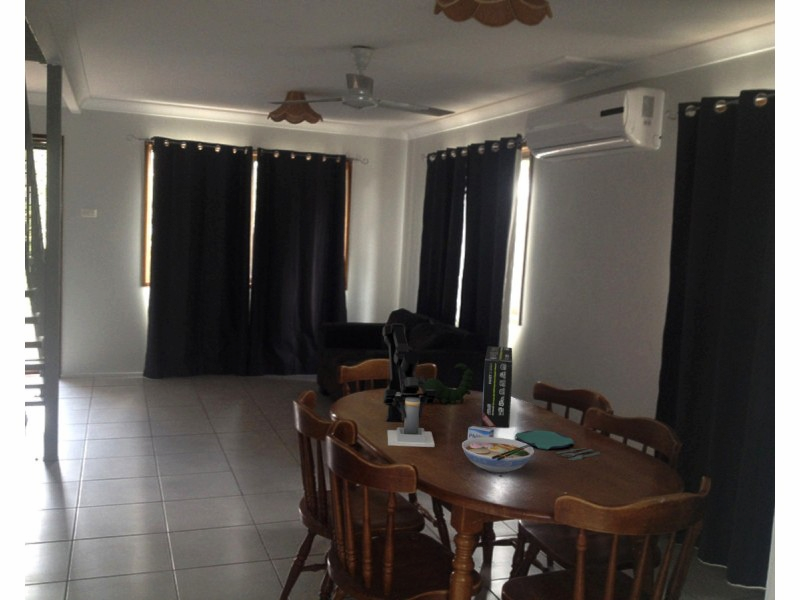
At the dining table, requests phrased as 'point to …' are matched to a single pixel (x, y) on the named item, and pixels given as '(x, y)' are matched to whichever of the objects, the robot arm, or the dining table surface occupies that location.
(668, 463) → the dining table surface
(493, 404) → the router box
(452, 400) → the toy figurine
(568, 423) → the dining table surface
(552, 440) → the cutlery set
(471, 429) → the medicine box
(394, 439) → the socket plate
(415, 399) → the grey can
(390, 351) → the robot arm
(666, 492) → the dining table surface
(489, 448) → the ramen bowl
